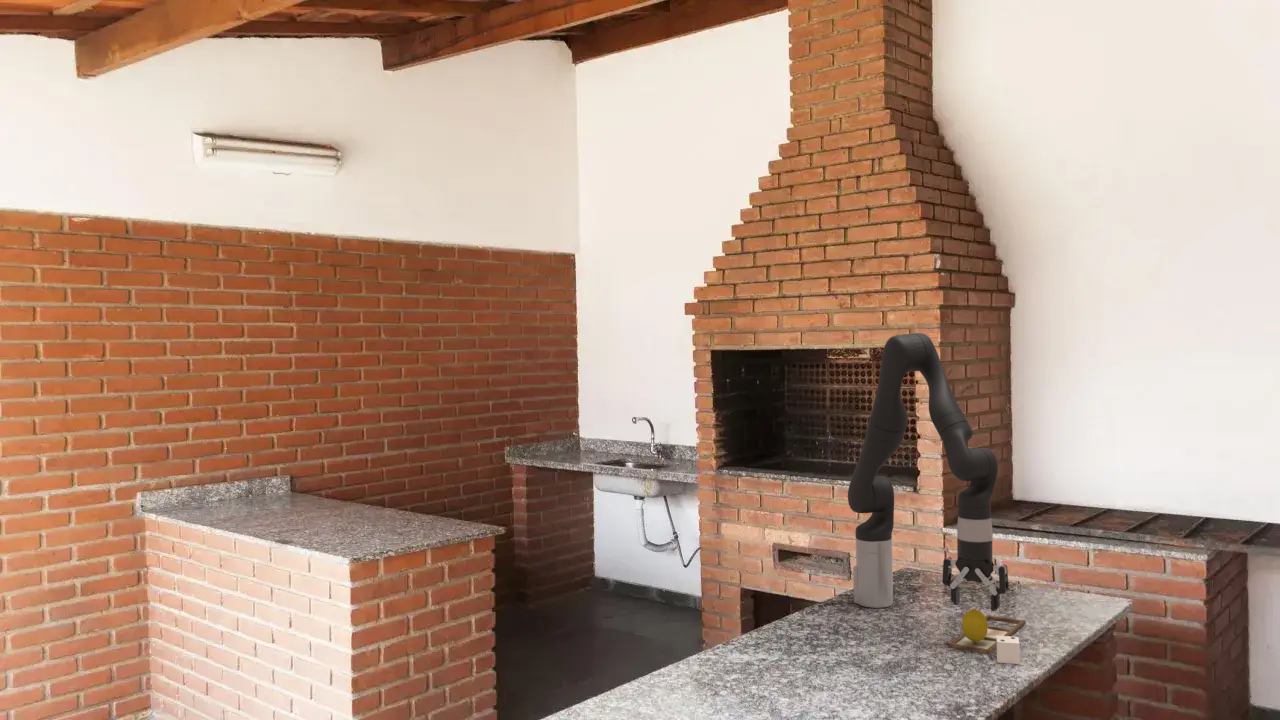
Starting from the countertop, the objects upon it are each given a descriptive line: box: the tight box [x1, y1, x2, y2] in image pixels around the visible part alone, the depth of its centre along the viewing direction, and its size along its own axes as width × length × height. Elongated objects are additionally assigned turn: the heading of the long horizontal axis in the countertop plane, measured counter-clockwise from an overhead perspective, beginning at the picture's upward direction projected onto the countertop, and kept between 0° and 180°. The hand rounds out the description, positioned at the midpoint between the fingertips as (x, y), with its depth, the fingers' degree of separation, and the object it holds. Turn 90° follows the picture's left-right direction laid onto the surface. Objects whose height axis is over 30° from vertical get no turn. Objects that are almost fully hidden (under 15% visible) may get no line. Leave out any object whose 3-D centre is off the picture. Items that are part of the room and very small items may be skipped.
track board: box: [948, 614, 1027, 655], centre depth 231 cm, size 9×26×1 cm, turn 142°
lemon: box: [961, 608, 989, 643], centre depth 224 cm, size 6×6×8 cm
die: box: [996, 635, 1021, 665], centre depth 214 cm, size 4×4×5 cm
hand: (975, 607), depth 225 cm, fingers open, 8 cm apart
